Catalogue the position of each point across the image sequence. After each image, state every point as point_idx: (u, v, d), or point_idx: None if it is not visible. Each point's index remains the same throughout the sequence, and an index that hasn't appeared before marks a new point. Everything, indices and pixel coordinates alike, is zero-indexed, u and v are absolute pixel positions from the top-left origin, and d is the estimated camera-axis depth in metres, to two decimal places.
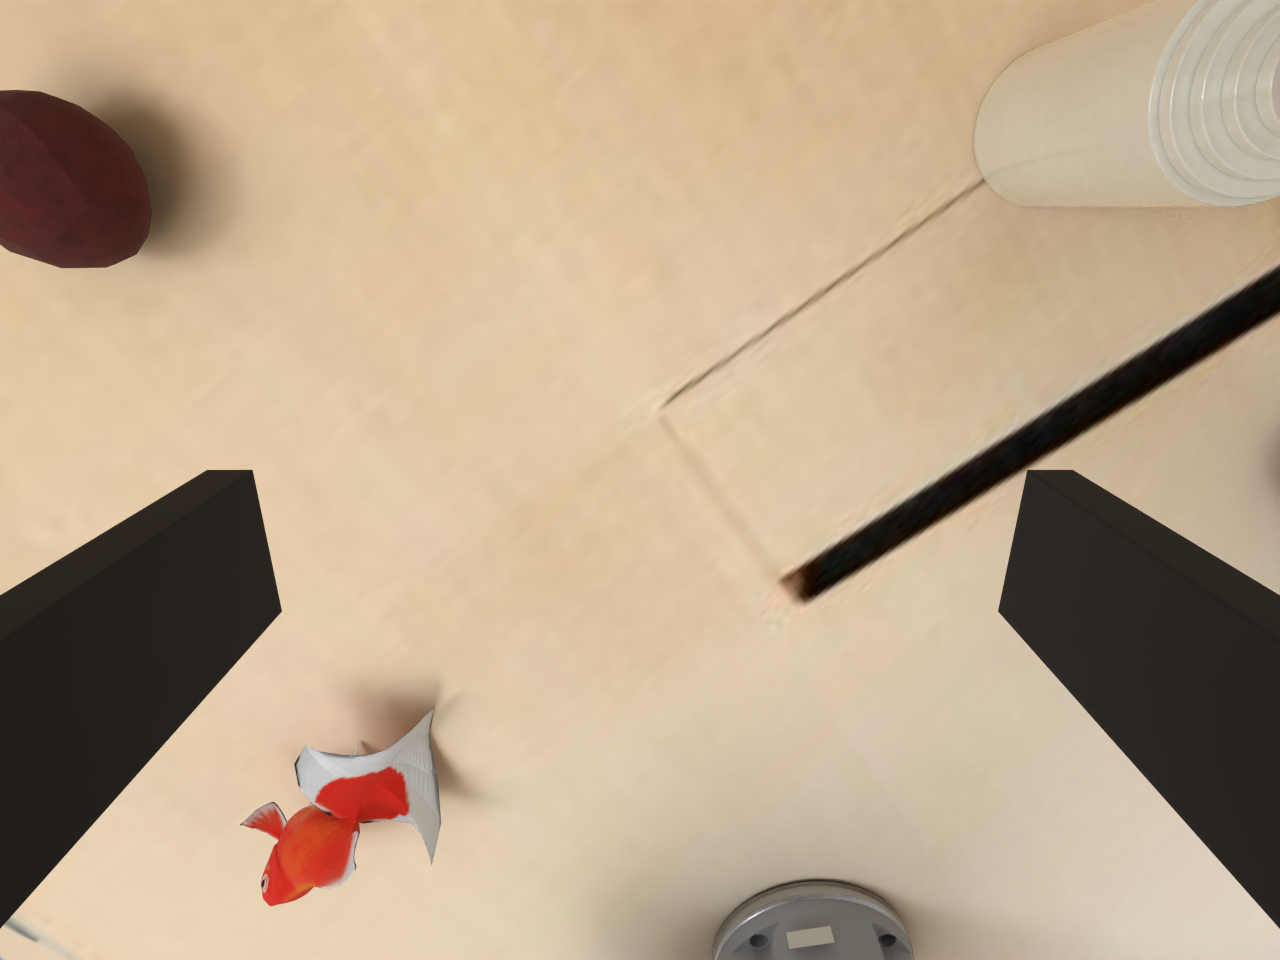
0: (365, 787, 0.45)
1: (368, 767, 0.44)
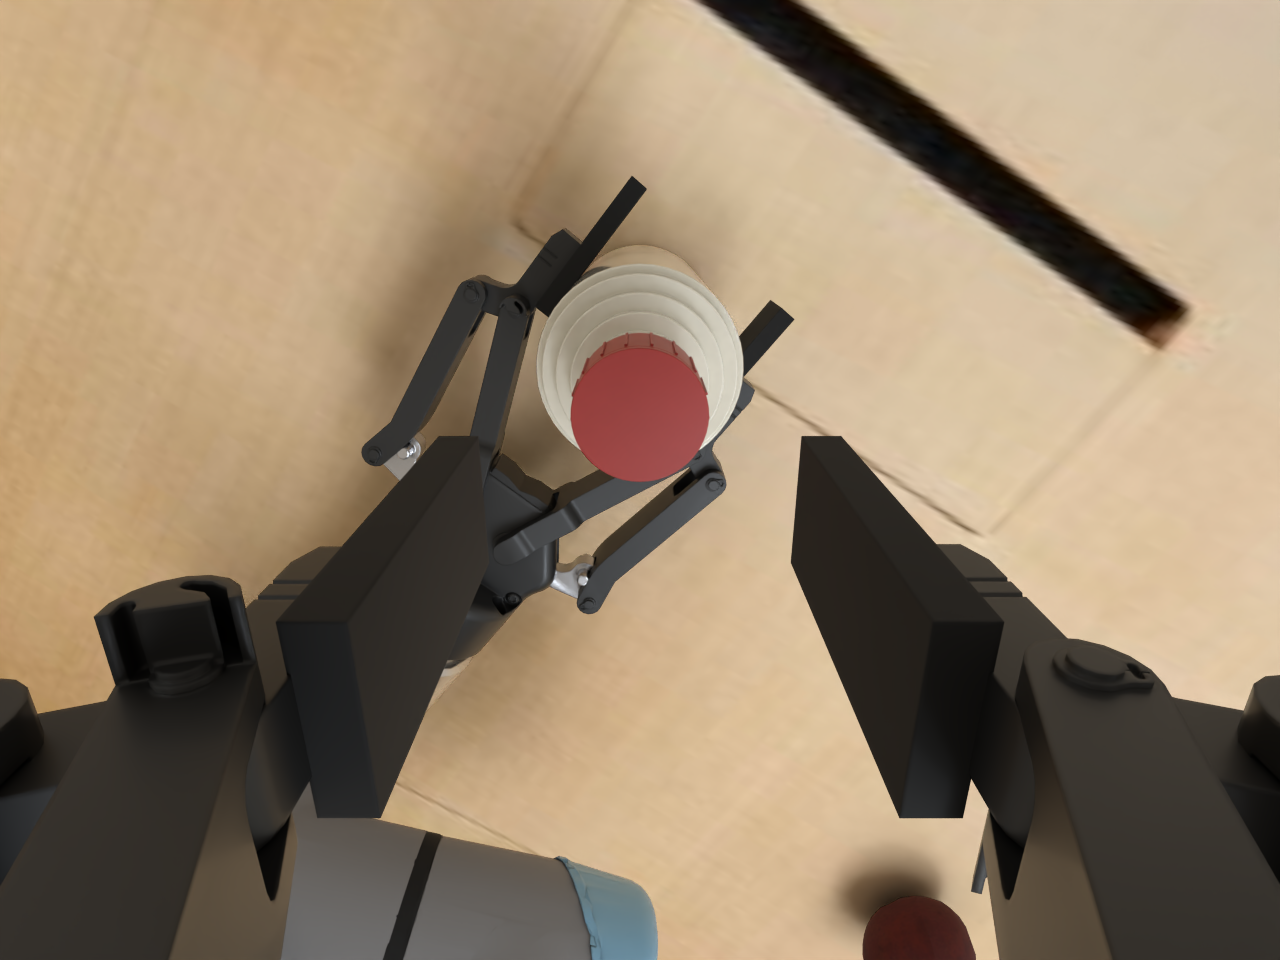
0: None
1: None
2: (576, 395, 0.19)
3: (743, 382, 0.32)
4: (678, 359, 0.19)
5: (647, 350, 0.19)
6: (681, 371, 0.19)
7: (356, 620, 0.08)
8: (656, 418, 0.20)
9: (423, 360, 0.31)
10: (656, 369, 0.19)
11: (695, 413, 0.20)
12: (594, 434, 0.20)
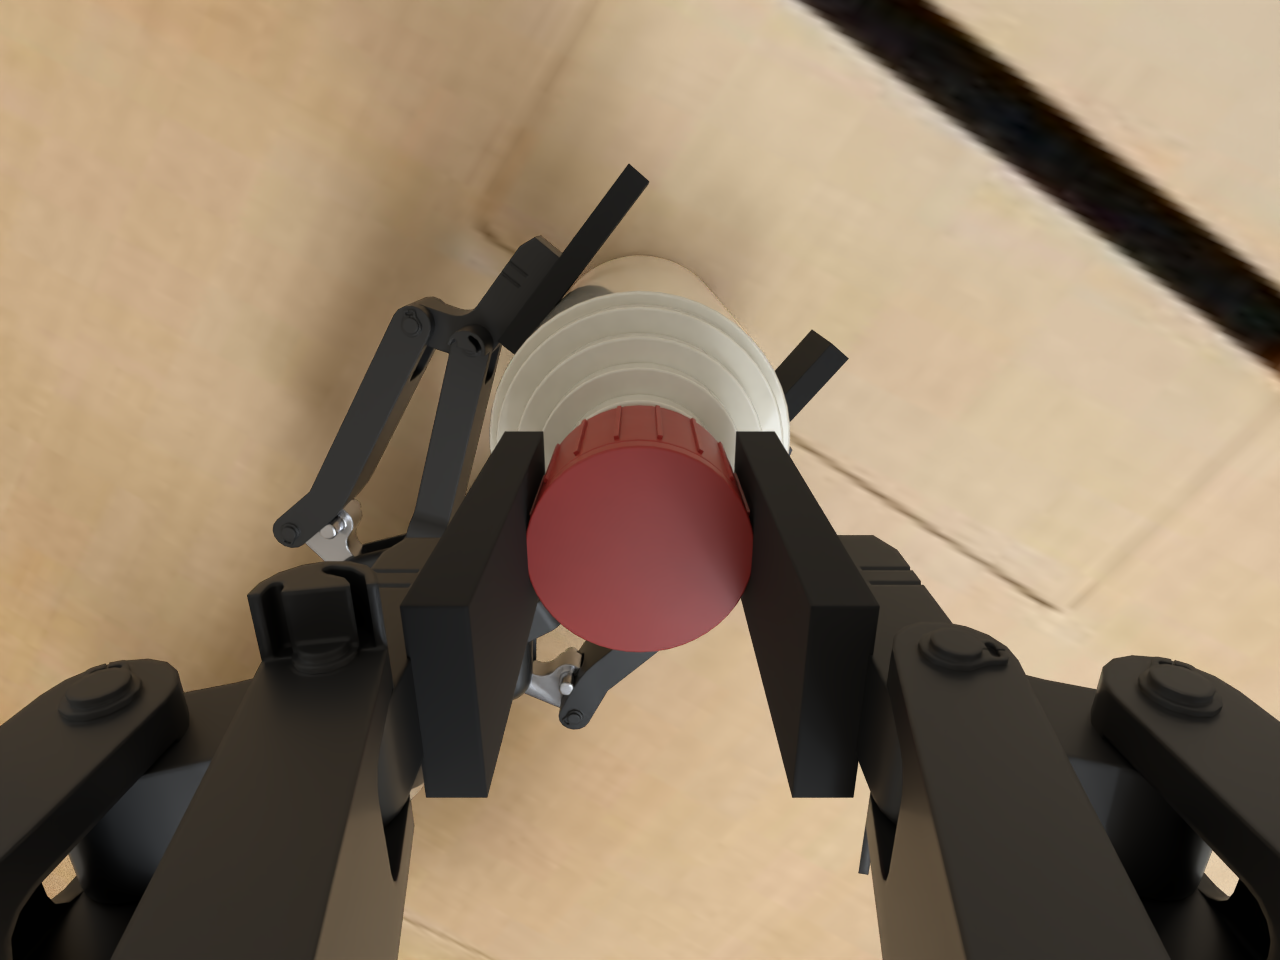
0: None
1: None
2: (533, 521, 0.12)
3: None
4: (704, 464, 0.11)
5: (652, 450, 0.11)
6: (709, 483, 0.11)
7: (474, 605, 0.08)
8: (667, 557, 0.12)
9: (350, 412, 0.23)
10: (667, 480, 0.11)
11: (732, 549, 0.12)
12: (564, 581, 0.12)
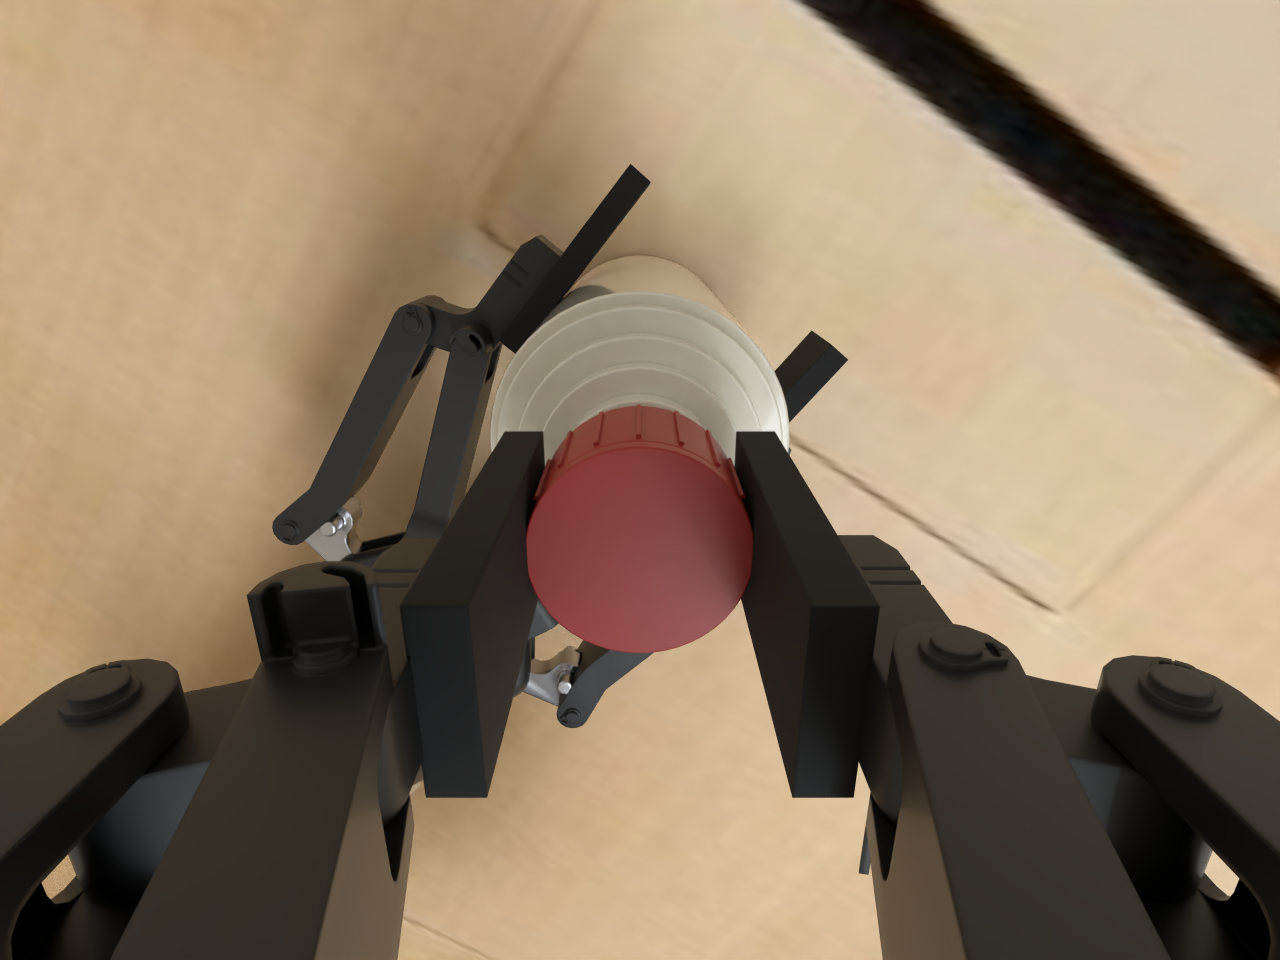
0: None
1: None
2: (613, 647, 0.12)
3: None
4: (536, 505, 0.12)
5: (527, 554, 0.12)
6: (554, 500, 0.12)
7: (473, 605, 0.08)
8: (639, 531, 0.12)
9: (350, 410, 0.23)
10: (556, 538, 0.12)
11: (624, 470, 0.11)
12: (674, 619, 0.12)
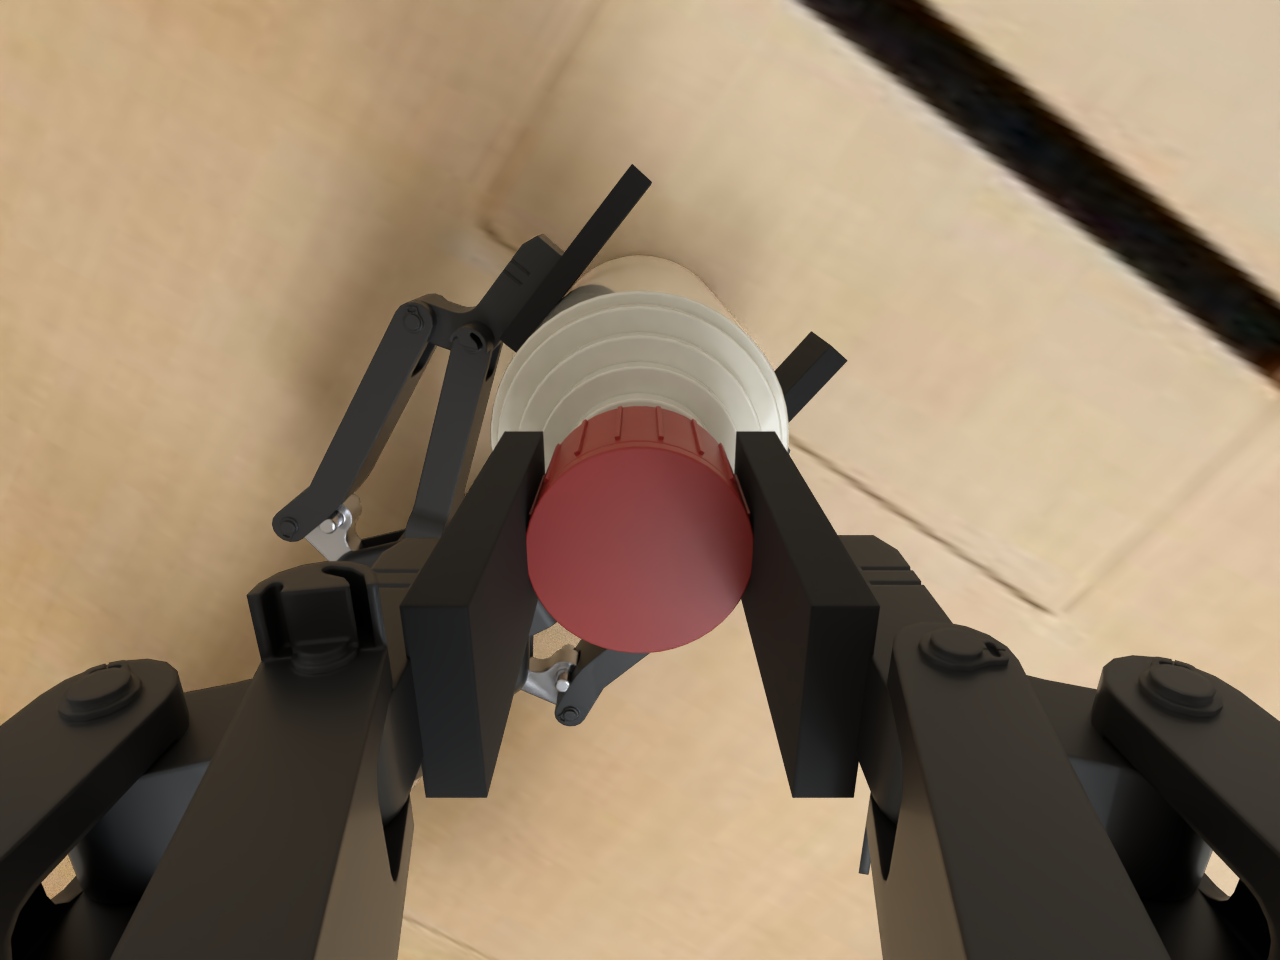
0: None
1: None
2: (747, 573, 0.12)
3: None
4: (597, 644, 0.13)
5: (646, 651, 0.13)
6: (588, 631, 0.12)
7: (473, 605, 0.08)
8: (612, 559, 0.12)
9: (351, 407, 0.23)
10: (627, 628, 0.12)
11: (551, 576, 0.12)
12: (710, 517, 0.12)
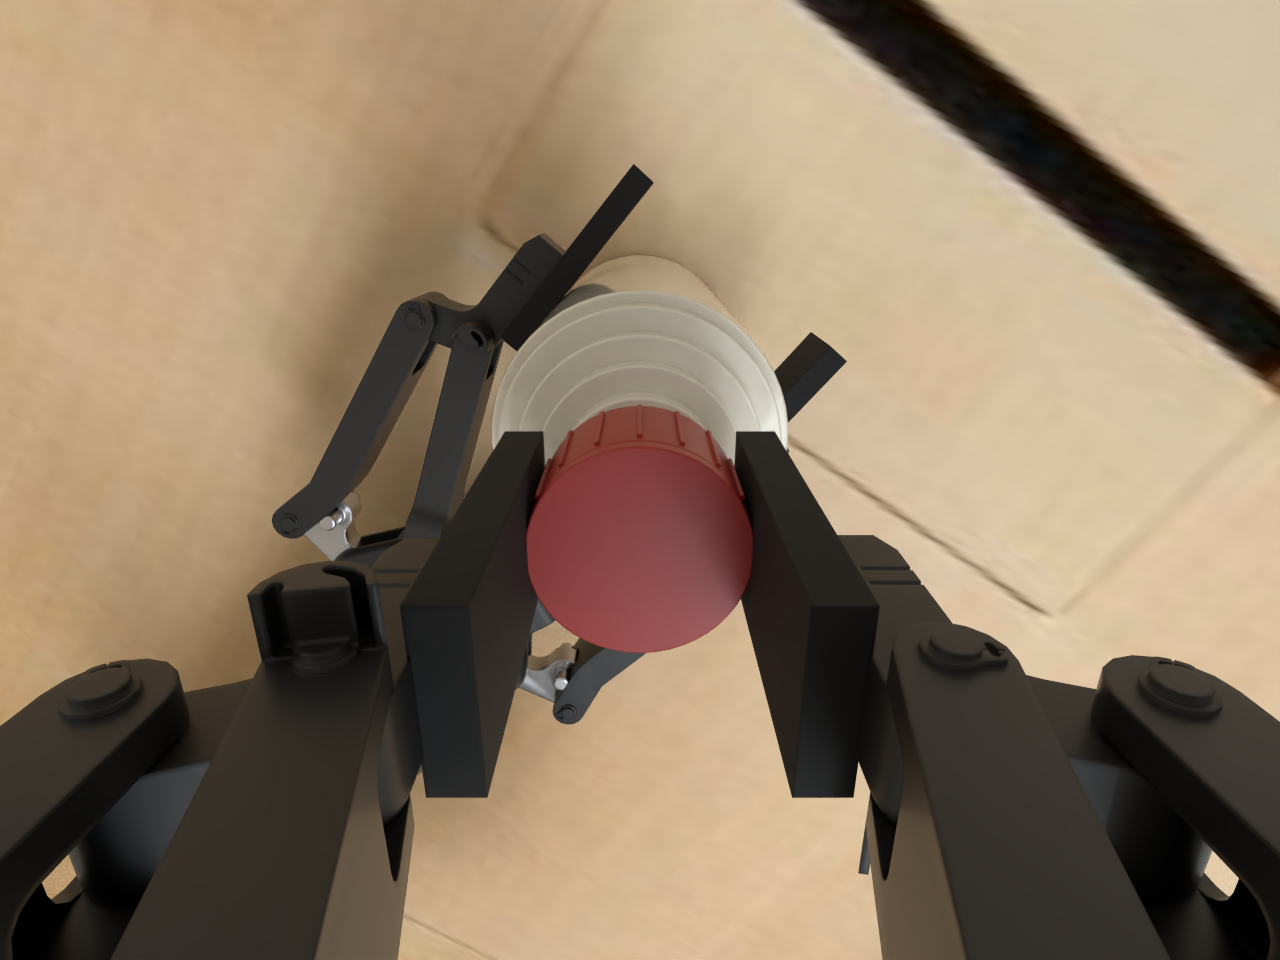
0: None
1: None
2: (649, 452, 0.11)
3: None
4: (746, 585, 0.12)
5: (751, 540, 0.12)
6: (729, 595, 0.12)
7: (474, 605, 0.08)
8: (645, 580, 0.12)
9: (351, 405, 0.23)
10: (724, 560, 0.12)
11: (668, 630, 0.12)
12: (589, 495, 0.11)
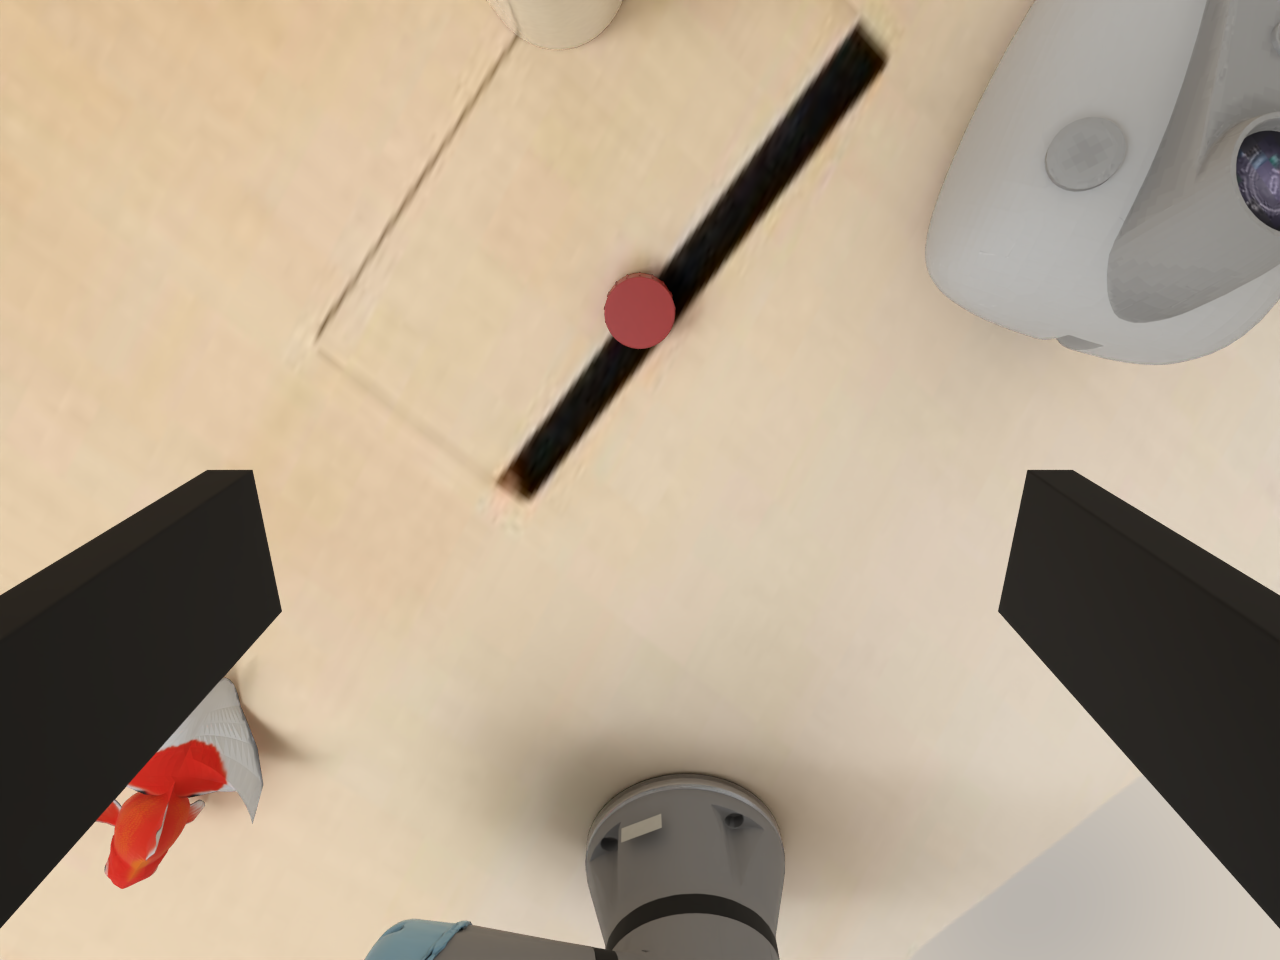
0: (172, 762, 0.48)
1: None
2: (642, 278, 0.38)
3: None
4: (672, 324, 0.39)
5: (673, 308, 0.39)
6: (667, 327, 0.39)
7: None
8: (641, 321, 0.39)
9: None
10: (665, 315, 0.39)
11: (648, 340, 0.39)
12: (624, 292, 0.38)
